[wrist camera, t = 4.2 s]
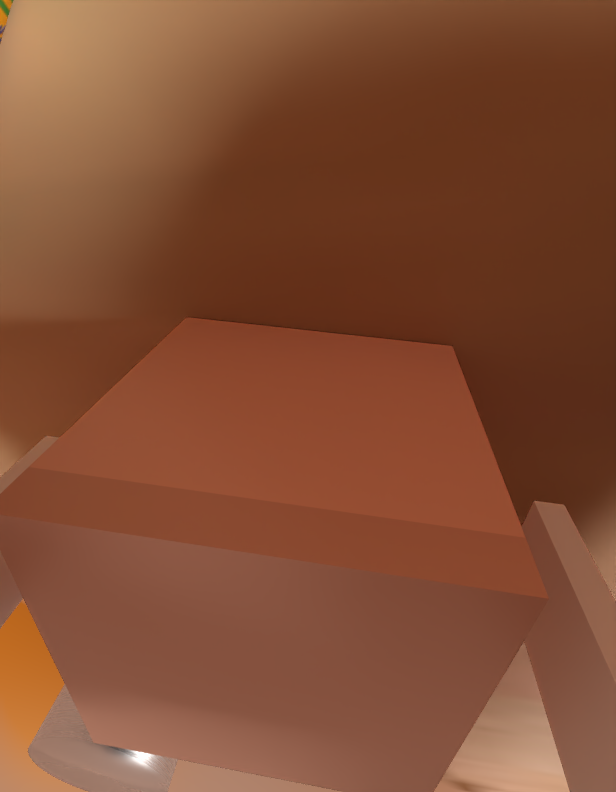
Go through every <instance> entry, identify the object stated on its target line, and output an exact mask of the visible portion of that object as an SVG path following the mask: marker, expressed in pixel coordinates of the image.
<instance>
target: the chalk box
mask: <svg viewBox="0 0 616 792" xmlns="http://www.w3.org/2000/svg"><path fill="white" fill-rule="evenodd" d="M12 3H13V0H0V44H1V39H2V35H3V32H4V29H5V27H6V22H7V19H8V15H9V11H10V8H11V5H12Z"/></svg>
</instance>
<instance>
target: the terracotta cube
mask: <svg viewBox="0 0 616 792" xmlns="http://www.w3.org/2000/svg"><path fill="white" fill-rule="evenodd" d="M0 552H1V554H2V556H3V558H4V560H5V562H6V564H7V566H8V568H9V570H10V572H11V574H12V576H13V578H14V580H15V582H16V584H17V587H18V589H19V591H20V593H21V595H22V597H23V599H24V601H25V603H26V605H27V607H28V609H29V611H30V613H31V615H32V617H33V619H34V621H35V623H36V625H37V628H38V630H39V632H40V634H41V636H42V638H43V640H44V642H45V644H46V646H47V648H48V650H49V652H50V654H51V656H52V658H53V660H54V663H55V664H56V666H57V669H58V670H59V673H60V675H61V676H62V679H63V681H64V683H65V685H66V687H67V689H68V691H69V693H70V695H71V697H72V700H73V702H74V704H75V706H76V708H77V710H78V712H79V714H80V716H81V718H82V720H83V722H84V724H85V726H86V728H87V730H88V732H89V734H90V736H91V739H92V741H93V743H97V744H103V745H108V746H113V747H118V748H123V749H128V750H133V751H138V752H143V753H148V754H154V755H159V756H164V757H169V758H174V759H180V760H184V761H189V762H194V763H199V764H205V765H210V766H215V767H220V768H225V769H230V770H236V771H240V772H246V773H251V774H256V775H261V776H266V777H271V778H276V779H281V780H286V781H291V782H296V783H302V784H307V785H312V786H317V787H322V788H327V789H332V790H337V791H343V792H434V790H435V789H436V787H437V785H438V784H439V782H440V780H441V778H442V777H443V775H444V773H445V772H446V770H447V768H448V767H449V765H450V763H451V762H452V760H453V758H454V757H455V755H456V753H457V752H458V750H459V748H460V747H461V745H462V743H463V742H464V740H465V738H466V737H467V735H468V733H469V732H470V730H471V728H472V727H473V725H474V723H475V722H476V720H477V718H478V717H479V715H480V713H481V712H482V710H483V708H484V707H485V705H486V703H487V702H488V700H489V698H490V697H491V695H492V693H493V692H494V690H495V688H496V687H497V685H498V683H499V682H500V680H501V678H502V677H503V675H504V673H505V672H506V670H507V668H508V667H509V665H510V663H511V662H512V660H513V658H514V657H515V655H516V653H517V652H518V650H519V648H520V647H521V645H522V643H523V642H524V640H525V638H526V636H527V635H528V633H529V631H530V630H531V628H532V626H533V625H534V623H535V621H536V620H537V618H538V616H539V615H540V613H541V611H542V610H543V608H544V606H545V605H546V603H547V601H548V600H549V597H548V595H547V592H546V589H545V587H544V584H543V582H542V579H541V576H540V574H539V571H538V569H537V566H536V563H535V561H534V558H533V555H532V553H531V550H530V548H529V545H528V542H527V540H526V537H525V535H524V532H523V529H522V527H521V524H520V521H519V519H518V516H517V514H516V511H515V508H514V506H513V503H512V501H511V498H510V495H509V493H508V490H507V488H506V485H505V482H504V480H503V477H502V474H501V472H500V469H499V467H498V464H497V461H496V459H495V456H494V454H493V451H492V448H491V446H490V443H489V440H488V438H487V435H486V433H485V430H484V427H483V425H482V422H481V420H480V417H479V414H478V412H477V409H476V407H475V404H474V401H473V399H472V396H471V393H470V391H469V388H468V386H467V383H466V380H465V378H464V375H463V373H462V370H461V367H460V365H459V362H458V359H457V357H456V354H455V352H454V349H453V346H448V345H439V344H430V343H421V342H411V341H402V340H393V339H384V338H375V337H365V336H356V335H347V334H338V333H329V332H319V331H310V330H301V329H292V328H282V327H273V326H264V325H255V324H246V323H236V322H227V321H218V320H209V319H200V318H190V317H186V318H185V319H184V320H183V321H182V322H181V323H180V324H179V325H178V326H177V327H176V328H175V329H174V330H172V331H171V332H170V333H169V334H168V335H167V336H166V337H165V338H164V339H163V340H162V341H161V342H160V343H159V344H158V345H157V346H156V347H155V348H153V349H152V350H151V351H150V352H149V353H148V354H147V355H146V356H145V357H144V358H143V359H142V360H141V361H140V362H139V363H138V364H137V365H136V366H134V367H133V368H132V369H131V370H130V371H129V372H128V373H127V374H126V375H125V376H124V377H123V378H122V379H121V380H120V381H119V382H118V383H117V384H115V385H114V386H113V387H112V388H111V389H110V390H109V391H108V392H107V393H106V394H105V395H104V396H103V397H102V398H101V399H100V400H99V401H98V402H96V403H95V404H94V405H93V406H92V407H91V408H90V409H89V410H88V411H87V412H86V413H85V414H84V415H83V416H82V417H81V418H80V419H79V420H78V421H76V422H75V423H74V424H73V425H72V426H71V427H70V428H69V429H68V430H67V431H66V432H65V433H64V434H63V435H62V436H61V437H60V438H59V439H57V440H56V441H55V442H54V443H53V444H52V445H51V446H50V447H49V448H48V449H47V450H46V451H45V452H44V453H43V454H42V455H41V456H40V457H38V458H37V459H36V460H35V461H34V462H33V463H32V464H31V465H30V466H29V467H28V468H27V469H26V470H25V471H24V472H23V473H22V474H21V475H19V476H18V477H17V478H16V479H15V480H14V481H13V482H12V483H11V484H10V485H9V486H8V487H7V488H6V489H5V490H4V491H3V492H2V493H0Z"/></svg>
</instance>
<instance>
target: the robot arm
mask: <svg viewBox="0 0 616 792" xmlns="http://www.w3.org/2000/svg"><path fill="white" fill-rule="evenodd" d="M57 439H59V437H52V436H45V437H44V438H43V439H42V440H41V441H40V442H38V443H37V444H36V445H35V446H34V447H33V448H32V449H31V450H30V451H29V452H28V453H26V454H25V455H24V456H23V457H22V458H21V459H20V460H19V461H18V462H17V463H15V464H14V465H13V466H12V467H11V468H10V469H9V470H8V471H7V472H6V473H4V474H3V475H2V476H1V477H0V493H2V492H3V491H4V490H5V489H6V488H7V487H8V486H9V485H10V484H11V483H12V482H13V481H14V480H15V479H16V478H17V477H18V476H19V475H21V474H22V473H23V472H24V471H25V470H26V469H27V468H28V467H29V466H30V465H31V464H32V463H33V462H34V461H35V460H36V459H37V458H38V457H40V456H41V455H42V454H43V453H44V452H45V451H46V450H47V449H48V448H49V447H50V446H51V445H52V444H53V443H54V442H55V441H56V440H57ZM522 529H523V532H524V535H525V537H526V540H527V542H528V545H529V548H530V550H531V553H532V555H533V558H534V561H535V563H536V566H537V569H538V571H539V574H540V576H541V579H542V582H543V584H544V587H545V589H546V592H547V595H548V597H549V600H548V601H547V603H546V605H545V606H544V608H543V610H542V611H541V613H540V615H539V616H538V618H537V620H536V621H535V623H534V625H533V626H532V628H531V630H530V631H529V633H528V635H527V636H526V638H525V640H524V642H525V645H526V648H527V652H528V655H529V658H530V662H531V665H532V668H533V671H534V675H535V678H536V681H537V685H538V688H539V691H540V695H541V698H542V701H543V704H544V708H545V711H546V714H547V718H548V721H549V724H550V727H551V731H552V734H553V737H554V741H555V744H556V747H557V750H558V754H559V757H560V760H561V764H562V767H563V770H564V774H565V777H566V780H567V783H568V787H569V790H570V792H616V602H615V600H614V598H613V596H612V594H611V592H610V591H609V589H608V587H607V585H606V583H605V581H604V579H603V577H602V575H601V573H600V572H599V570H598V568H597V566H596V564H595V562H594V560H593V558H592V556H591V554H590V553H589V551H588V549H587V547H586V545H585V543H584V541H583V539H582V537H581V535H580V534H579V532H578V530H577V528H576V526H575V524H574V522H573V520H572V518H571V516H570V515H569V513H568V511H567V509H566V507H565V505H563V504H555V503H548V502H540V501H533V504H532V506H531V508H530V510H529V512H528V514H527V516H526V518H525V520H524V523H523V525H522ZM22 599H23V597H22V595H21V593H20V591H19V589H18V587H17V584H16V582H15V580H14V578H13V576H12V574H11V572H10V570H9V568H8V566H7V564H6V562H5V560H4V558H3V556H2V554H1V552H0V628H1V627H2V625H3V624H4V623H5V621H6V620H7V619H8V617H9V616H10V615H11V613H12V612H13V611H14V609H15V608H16V607H17V605H18V604H19V603H20V602H21V600H22Z"/></svg>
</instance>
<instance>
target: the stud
mask: <svg viewBox="0 0 616 792" xmlns="http://www.w3.org/2000/svg"><path fill="white" fill-rule="evenodd" d="M28 753H29V756H30V758H31V759H32V760H33V762H35V764H36V765H38V766H39V767H40V768H41V769H43V770H44V771H45V772H47V773H48V774H50V775H52V776H54V777H55V778H57V779H59V780H61V781H63V782H65V783H68V784H70V785H72V786H75V787H77V788H80V789H83V790H86V791H89V792H168V789H169V785H170V782H171V779H172V776H173V773H174V770H175V766H176V763H177V760H178V759H174V758H169V757H164V756H159V755H154V754H148V753H143V752H138V751H133V750H128V749H123V748H118V747H113V746H108V745H103V744H97V743H93V741H92V739H91V736H90V734H89V732H88V730H87V728H86V726H85V724H84V722H83V720H82V718H81V716H80V714H79V712H78V710H77V708H76V706H75V704H74V702H73V700H72V697H71V695H70V693H69V691H68V689H67V687H66V685H64V686H63V688H62V690H61V692H60V693H59V695H58V697H57V699H56V701H55V702H54V704H53V706H52V708H51V709H50V711H49V713H48V715H47V716H46V718H45V720H44V722H43V723H42V725H41V727H40V729H39V730H38V732H37V734H36V736H35V738H34V739H33V741H32V743H31V744H30V746H29V748H28Z"/></svg>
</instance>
